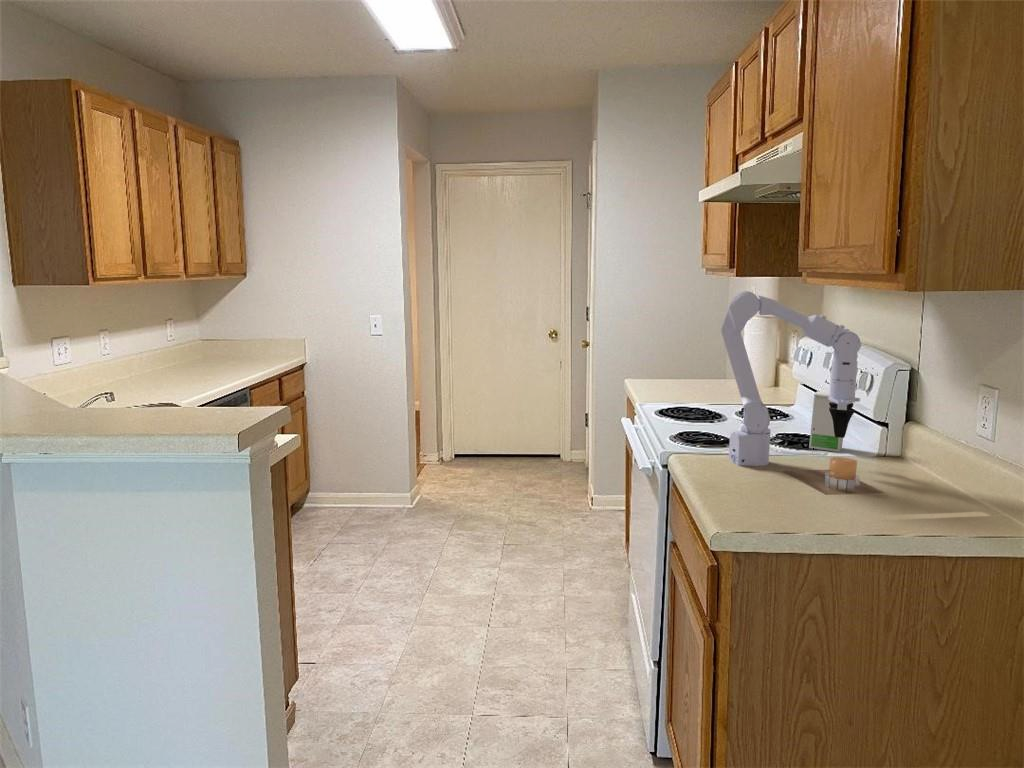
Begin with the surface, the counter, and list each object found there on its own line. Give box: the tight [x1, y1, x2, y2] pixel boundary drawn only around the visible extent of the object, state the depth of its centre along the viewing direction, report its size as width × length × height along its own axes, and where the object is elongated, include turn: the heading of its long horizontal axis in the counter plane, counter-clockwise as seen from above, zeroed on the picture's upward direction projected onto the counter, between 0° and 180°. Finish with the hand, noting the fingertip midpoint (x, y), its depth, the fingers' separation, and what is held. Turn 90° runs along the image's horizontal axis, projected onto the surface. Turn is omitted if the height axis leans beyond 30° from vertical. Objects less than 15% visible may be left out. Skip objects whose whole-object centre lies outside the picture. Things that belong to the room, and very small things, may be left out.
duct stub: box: [824, 472, 861, 491], centre depth 174 cm, size 7×7×2 cm
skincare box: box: [808, 390, 844, 453], centre depth 215 cm, size 8×7×16 cm
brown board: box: [782, 469, 886, 495], centre depth 179 cm, size 14×20×1 cm
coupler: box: [828, 456, 858, 479], centre depth 174 cm, size 6×6×6 cm
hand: (839, 434), depth 189 cm, fingers open, 7 cm apart
